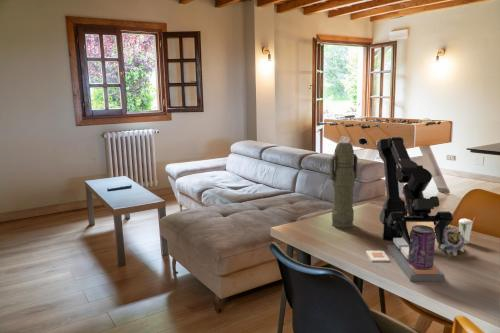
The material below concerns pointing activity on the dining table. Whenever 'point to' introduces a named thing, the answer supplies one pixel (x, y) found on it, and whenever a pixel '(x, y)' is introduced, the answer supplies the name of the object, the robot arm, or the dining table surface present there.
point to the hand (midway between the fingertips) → (425, 244)
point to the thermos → (343, 185)
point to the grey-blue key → (400, 242)
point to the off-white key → (405, 251)
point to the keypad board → (408, 271)
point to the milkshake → (465, 228)
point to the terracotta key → (425, 270)
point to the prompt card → (378, 256)
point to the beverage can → (421, 247)
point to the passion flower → (452, 241)
